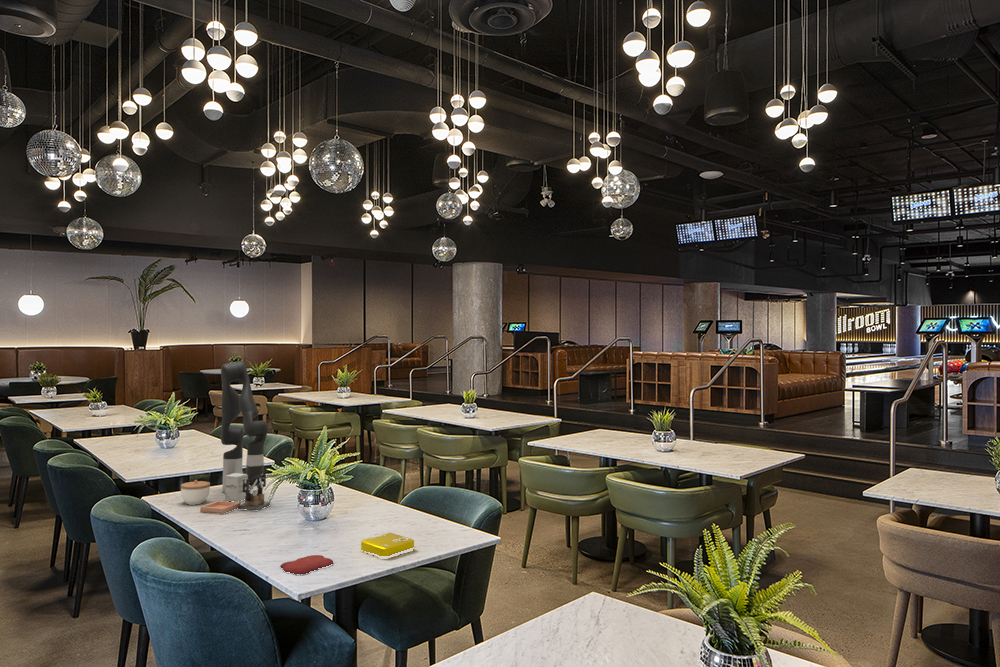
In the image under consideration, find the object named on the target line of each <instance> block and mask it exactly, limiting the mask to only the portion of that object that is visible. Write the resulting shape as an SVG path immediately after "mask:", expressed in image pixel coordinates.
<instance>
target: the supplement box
mask: <svg viewBox="0 0 1000 667" xmlns="http://www.w3.org/2000/svg"><path fill="white" fill-rule="evenodd" d="M243 479H248V475H247V474H246V473H243V474H241V473H233V474H230V475H226V487H225V493H224V501H227V502H229V501H234V502H238V501H241V500H244V499H245V496H246V493H245V492H242V491H243ZM245 490H246V487H245ZM244 501H245V500H244ZM241 502H242V501H241Z"/></svg>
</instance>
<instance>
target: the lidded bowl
mask: <svg viewBox="0 0 1000 667" xmlns="http://www.w3.org/2000/svg"><path fill="white" fill-rule="evenodd" d="M210 487H211V482H209V481H203V480H199V481H198V479H194V481H189V482H184V483H182V484H180V493H181V499H182V501H184V503H185V504H186V505H188V504H189V505H190V506H196V505H195V504H198V505H201V503H202V504H204V502H206V500H207V499H208V497H209V495H210Z"/></svg>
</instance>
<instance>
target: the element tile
mask: <svg viewBox="0 0 1000 667" xmlns="http://www.w3.org/2000/svg"><path fill="white" fill-rule="evenodd" d="M413 547H414V548H415V540H414V539H413V538H409V537H406V536H403V535H401V534H400V535H399V534H396V533H393V532H387V533H383V534H379V535H375V536H372V537H369V538H364V539H362V540H361V541H360V551H361V550H363V551H366V552H370V553H374V554H377V555H379V556H390V555H392V554H395V553H398V552H401V551H404V550H407V549H410V548H413Z"/></svg>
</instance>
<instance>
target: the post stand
mask: <svg viewBox="0 0 1000 667" xmlns="http://www.w3.org/2000/svg"><path fill="white" fill-rule="evenodd" d="M252 493H253V496H257V489H254V490H253V489H252ZM269 505H270V506H271V501H265V500H264V503H262V504H259V505H257V506H255V505H245V502H244V503H241V504H240V505H238V509H247V510H259V509H262V508H264V507H267V506H269ZM270 506H269V507H270ZM267 508H268V507H267ZM238 509H237V510H238ZM247 510H246V511H247ZM262 510H263V509H262Z"/></svg>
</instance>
